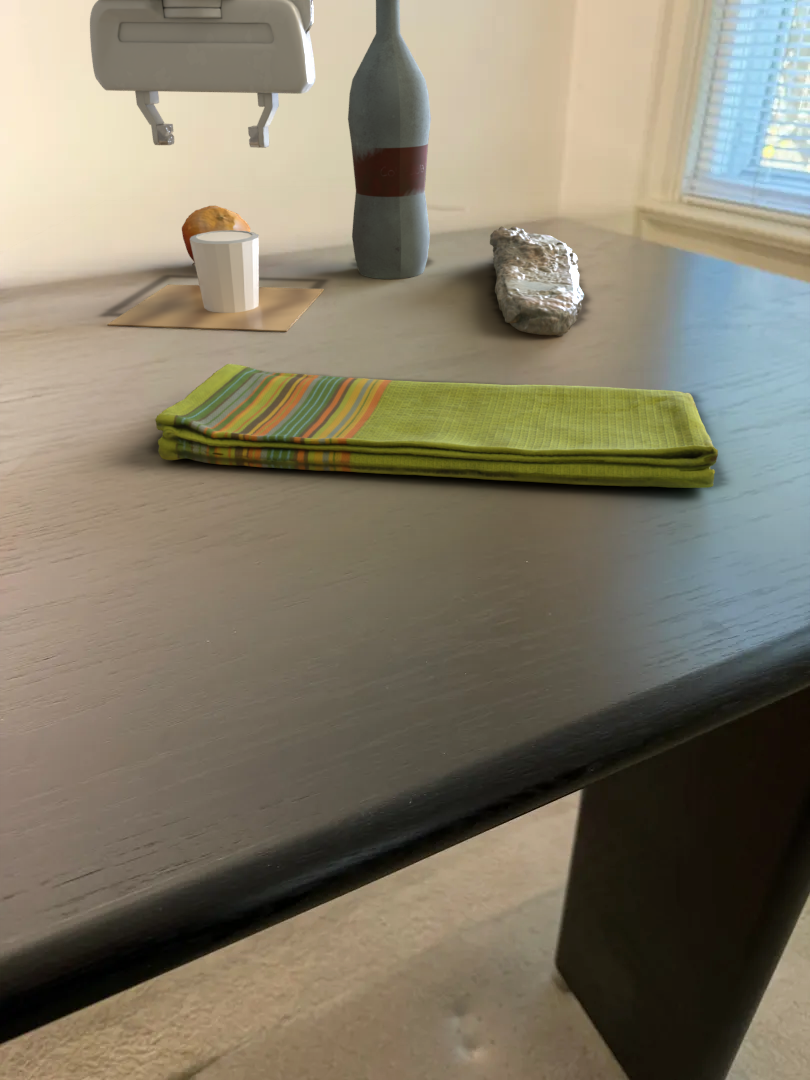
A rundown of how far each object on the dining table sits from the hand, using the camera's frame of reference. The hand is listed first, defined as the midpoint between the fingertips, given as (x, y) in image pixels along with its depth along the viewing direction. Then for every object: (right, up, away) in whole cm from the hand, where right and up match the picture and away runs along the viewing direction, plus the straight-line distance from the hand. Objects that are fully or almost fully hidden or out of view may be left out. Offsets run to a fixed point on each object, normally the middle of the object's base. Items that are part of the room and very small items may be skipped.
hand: (211, 146), depth 84 cm
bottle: (+17, -6, +22) cm, 28 cm away
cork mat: (-1, -13, +8) cm, 15 cm away
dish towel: (+21, -30, -22) cm, 43 cm away
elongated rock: (+33, -11, +12) cm, 36 cm away
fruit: (-4, -5, +23) cm, 24 cm away
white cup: (0, -13, +8) cm, 16 cm away
